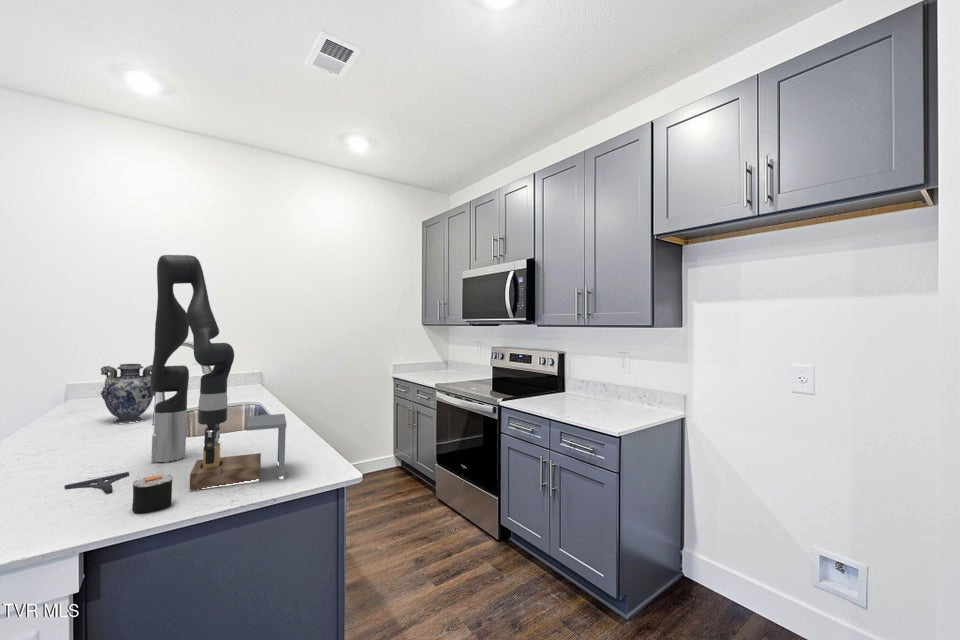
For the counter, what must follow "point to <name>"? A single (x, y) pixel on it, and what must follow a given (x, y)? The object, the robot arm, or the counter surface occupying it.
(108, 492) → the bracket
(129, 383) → the decorative vase
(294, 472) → the counter surface
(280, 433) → the panel
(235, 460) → the socket block
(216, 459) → the peg
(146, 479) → the sushi
